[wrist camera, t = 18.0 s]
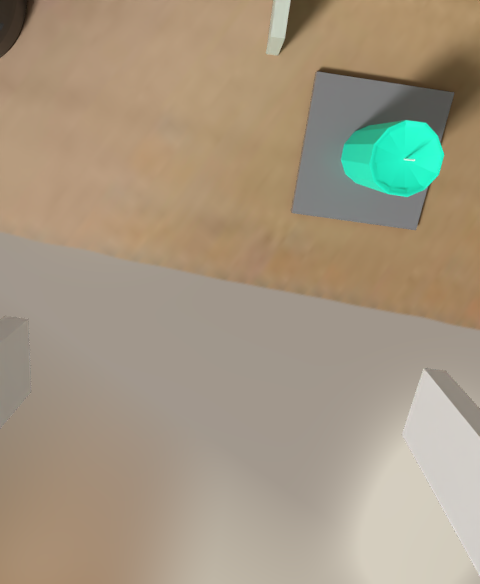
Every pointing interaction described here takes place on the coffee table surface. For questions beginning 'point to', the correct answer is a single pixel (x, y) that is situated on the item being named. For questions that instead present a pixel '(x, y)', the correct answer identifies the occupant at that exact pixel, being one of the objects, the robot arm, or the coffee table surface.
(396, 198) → the slate tile
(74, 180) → the coffee table surface
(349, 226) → the coffee table surface
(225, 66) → the coffee table surface
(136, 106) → the coffee table surface
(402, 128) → the candle
